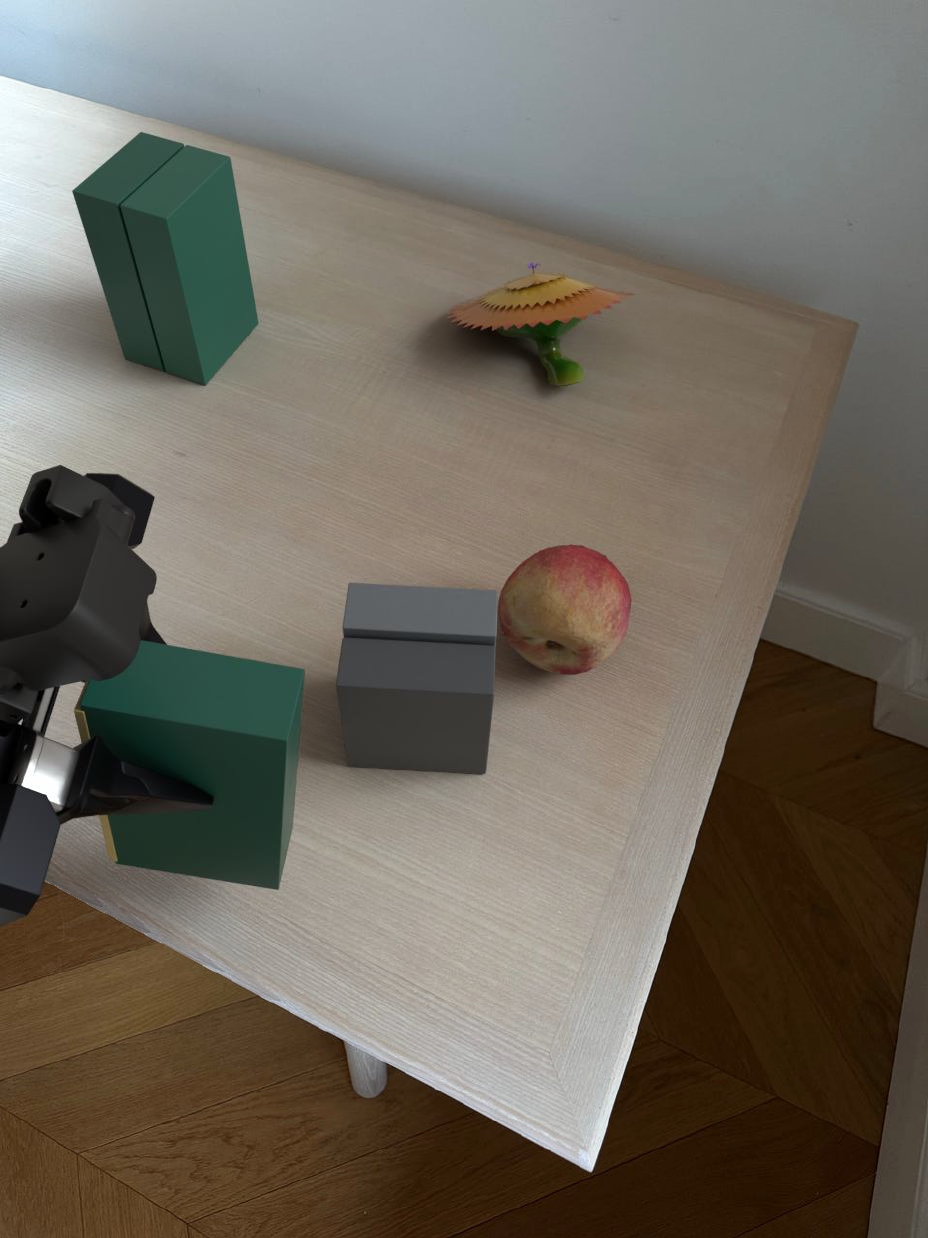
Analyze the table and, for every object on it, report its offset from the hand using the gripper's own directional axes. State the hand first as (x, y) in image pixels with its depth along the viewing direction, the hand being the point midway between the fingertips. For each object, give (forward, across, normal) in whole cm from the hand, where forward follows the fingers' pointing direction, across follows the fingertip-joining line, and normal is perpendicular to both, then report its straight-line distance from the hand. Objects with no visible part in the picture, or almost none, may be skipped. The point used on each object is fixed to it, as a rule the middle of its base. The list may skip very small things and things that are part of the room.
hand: (216, 762), depth 44 cm
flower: (+20, +44, -2) cm, 48 cm away
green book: (+4, -1, +7) cm, 8 cm away
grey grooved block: (+15, +9, +3) cm, 18 cm away
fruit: (+21, +15, -3) cm, 26 cm away
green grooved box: (+1, +42, +17) cm, 46 cm away
